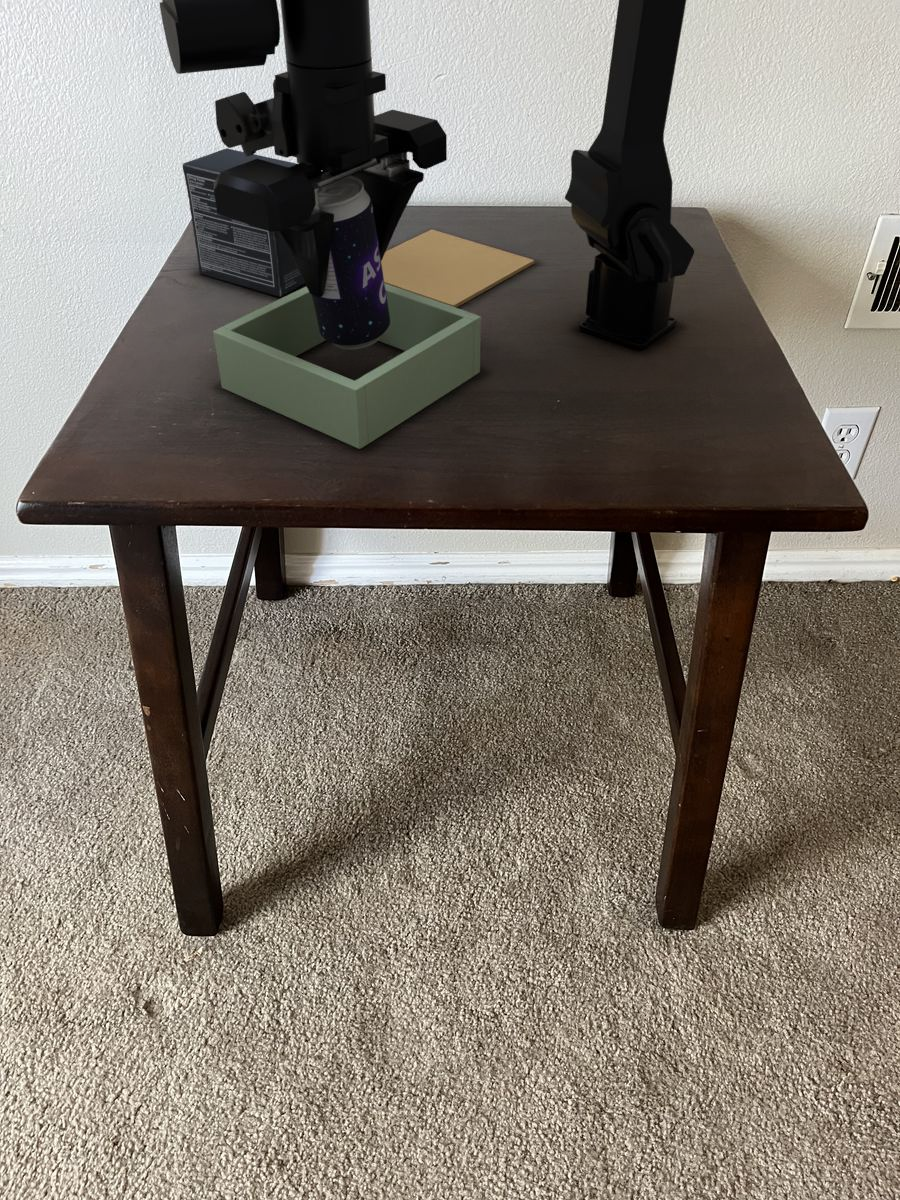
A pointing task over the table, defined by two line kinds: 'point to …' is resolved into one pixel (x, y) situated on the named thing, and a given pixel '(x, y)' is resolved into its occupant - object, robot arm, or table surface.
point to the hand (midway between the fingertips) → (344, 281)
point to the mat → (448, 267)
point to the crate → (331, 401)
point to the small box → (236, 233)
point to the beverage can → (352, 270)
